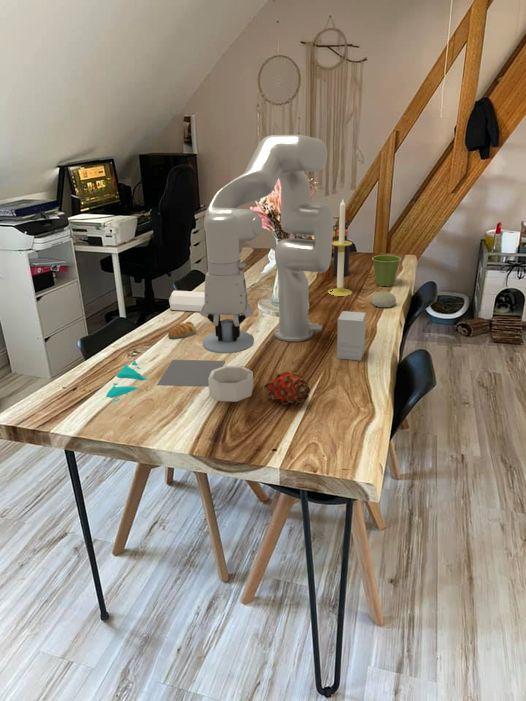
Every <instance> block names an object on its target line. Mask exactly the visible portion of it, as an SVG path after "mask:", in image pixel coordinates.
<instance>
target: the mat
mask: <svg viewBox="0 0 526 701" xmlns="http://www.w3.org/2000/svg"><path fill="white" fill-rule="evenodd" d="M225 363H226V360H206V359H205V360H202V359H200V360H199V359H198V360H197V359H196V360H195V359H172V360H171V361H170V363H169V365H168V367H167V368H166V369H165V371H164V373H163V374H162V376H161V378H160V379H159V380H158V382H157V384H156V386H175V387H177V386H178V387H206V388H207V387H208V388H209V384H208V378H209V376H210V373H211V371H212V370H215V369H218V368H221V367H223V366H225Z"/></svg>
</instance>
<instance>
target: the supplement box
mask: <svg viewBox="0 0 526 701" xmlns="http://www.w3.org/2000/svg"><path fill="white" fill-rule="evenodd" d="M366 319H367V312H361V311H360V312H359V311H358V312H357V311H346V310H343V311H341V313H340V314H339V316H338V318H337V336H336V338H337V340H336V341H337V342H336V359H341V360H349V361H352V360H353V361H362V359H363V356H364V354H365V344H366V343H365V342H366V321H367V320H366Z"/></svg>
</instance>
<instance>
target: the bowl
mask: <svg viewBox="0 0 526 701" xmlns="http://www.w3.org/2000/svg"><path fill="white" fill-rule="evenodd" d="M208 384H209V387H208V394H209V396H211V397H212V398H214V399H215V400H217V401H219V402H239V401H242V400H245V399H247V398H249V397H251V396H252V394H253V390H254V372H253V371H252V370H251V369H249V368H247V367H245V366H243V365H223V367H221V368H218V369H215V370H212V371H211V373H210V376H209V378H208Z"/></svg>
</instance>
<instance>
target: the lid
mask: <svg viewBox="0 0 526 701" xmlns="http://www.w3.org/2000/svg"><path fill="white" fill-rule="evenodd" d="M220 321H221V334H222V340H221V341H218V337H216V332H213V333H210V334H208V335H206V336H205V337H203V338H202V347H203V349H204V350H206V351H208V352H209V353H214V354H215V353H216V354H225V355H226V354H236V353H240V352H244V351H246V350H248V349H250V348H252V347H253V346H254V344H255V338H254V336H253V335H252V334H251V333H248V332H245V331H242V330H240V337H238V338H237V341H233V325H234V319H230V318H229V319H228V318H225V319H222V320H220Z"/></svg>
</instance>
